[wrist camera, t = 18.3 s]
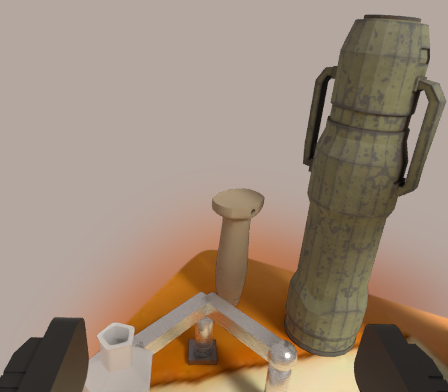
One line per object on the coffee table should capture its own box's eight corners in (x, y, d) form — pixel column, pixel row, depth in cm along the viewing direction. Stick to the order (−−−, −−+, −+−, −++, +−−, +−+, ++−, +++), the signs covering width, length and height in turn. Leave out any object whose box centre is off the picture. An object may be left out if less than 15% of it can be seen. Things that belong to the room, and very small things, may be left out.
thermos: (356, 378, 41) (466, 17, 27) (260, 327, 47) (309, 9, 33) (377, 331, 48) (474, 24, 34) (291, 292, 53) (343, 17, 39)
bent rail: (271, 344, 44) (281, 284, 41) (290, 427, 35) (305, 358, 32) (130, 342, 43) (129, 279, 39) (112, 428, 34) (108, 356, 30)
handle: (197, 301, 50) (204, 197, 44) (232, 282, 54) (243, 185, 48) (222, 321, 47) (233, 212, 41) (257, 300, 51) (272, 199, 45)
